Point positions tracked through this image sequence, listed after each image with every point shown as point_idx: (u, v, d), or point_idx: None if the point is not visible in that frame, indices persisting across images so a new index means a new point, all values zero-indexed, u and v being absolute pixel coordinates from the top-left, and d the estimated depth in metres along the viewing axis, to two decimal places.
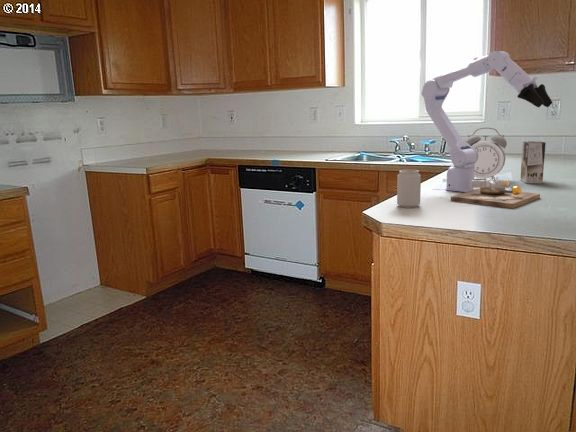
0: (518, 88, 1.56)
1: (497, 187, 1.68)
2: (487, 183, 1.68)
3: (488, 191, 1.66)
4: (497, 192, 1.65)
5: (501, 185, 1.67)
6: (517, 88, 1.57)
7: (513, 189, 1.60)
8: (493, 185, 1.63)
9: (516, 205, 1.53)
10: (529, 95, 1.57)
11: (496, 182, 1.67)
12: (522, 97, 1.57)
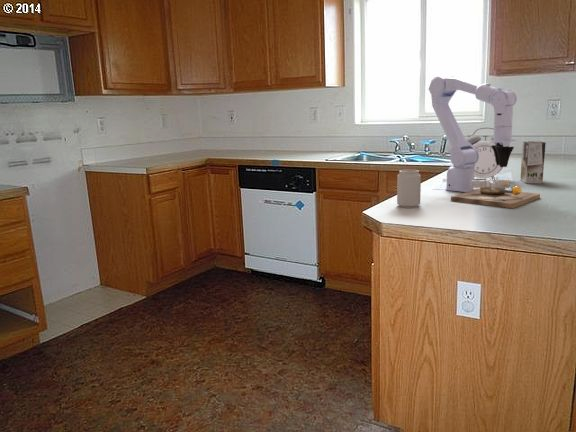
0: (505, 144, 1.62)
1: (497, 187, 1.68)
2: (487, 183, 1.68)
3: (488, 191, 1.66)
4: (497, 192, 1.65)
5: (501, 185, 1.67)
6: (505, 143, 1.62)
7: (513, 189, 1.60)
8: (493, 185, 1.63)
9: (516, 205, 1.53)
10: (503, 153, 1.66)
11: (496, 182, 1.67)
12: (499, 151, 1.65)
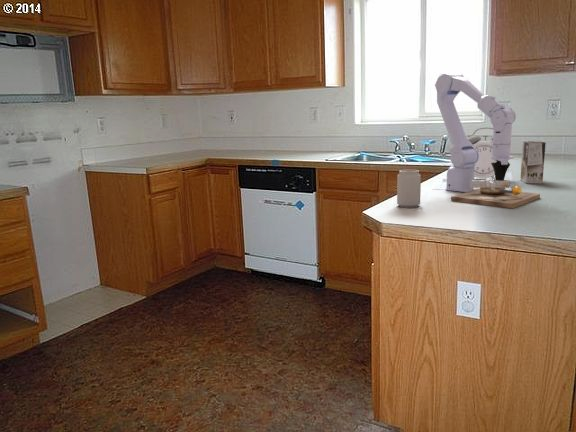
0: (504, 162, 1.64)
1: (497, 187, 1.68)
2: (487, 183, 1.68)
3: (488, 191, 1.66)
4: (497, 192, 1.65)
5: (501, 185, 1.67)
6: (503, 161, 1.64)
7: (513, 189, 1.60)
8: (493, 185, 1.63)
9: (516, 205, 1.53)
10: (499, 169, 1.71)
11: (496, 182, 1.67)
12: (496, 167, 1.70)
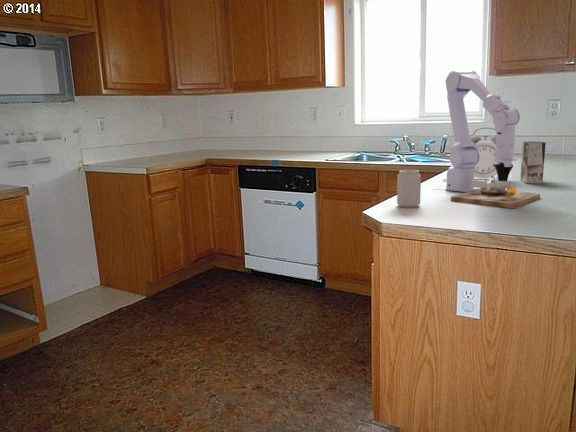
0: (507, 164, 1.59)
1: (497, 187, 1.67)
2: (486, 183, 1.68)
3: (486, 191, 1.67)
4: (495, 192, 1.65)
5: (501, 185, 1.66)
6: (506, 163, 1.59)
7: (507, 190, 1.59)
8: (488, 185, 1.63)
9: (516, 205, 1.53)
10: (502, 171, 1.67)
11: (496, 182, 1.67)
12: (498, 169, 1.65)
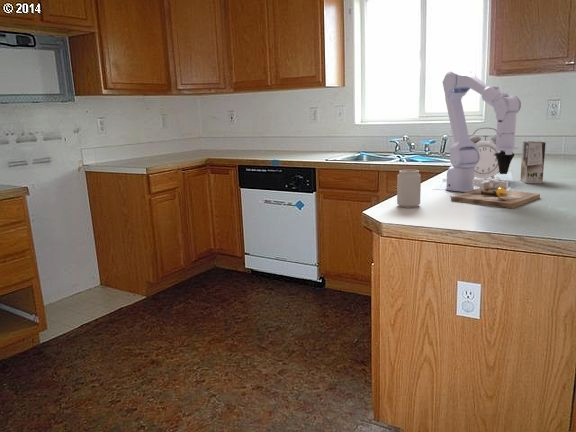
0: (508, 152, 1.57)
1: (495, 188, 1.67)
2: None
3: (483, 190, 1.68)
4: (490, 193, 1.65)
5: (499, 186, 1.66)
6: (507, 151, 1.57)
7: (496, 190, 1.59)
8: (481, 185, 1.64)
9: (516, 205, 1.53)
10: (503, 160, 1.64)
11: (494, 182, 1.66)
12: (499, 158, 1.63)
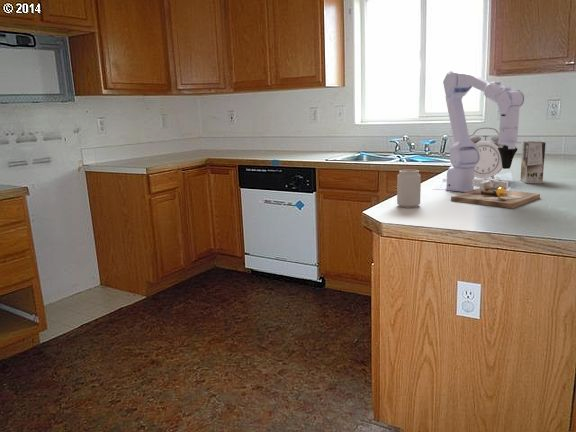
0: (511, 146, 1.56)
1: (495, 188, 1.67)
2: None
3: (483, 190, 1.68)
4: (490, 193, 1.65)
5: (499, 186, 1.66)
6: (510, 145, 1.56)
7: (496, 190, 1.59)
8: (481, 185, 1.64)
9: (516, 205, 1.53)
10: (506, 154, 1.63)
11: (494, 182, 1.66)
12: (502, 152, 1.62)
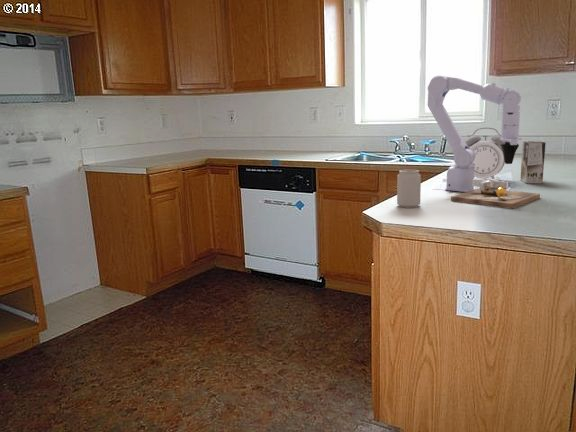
0: (513, 142, 1.67)
1: (495, 188, 1.67)
2: None
3: (483, 190, 1.68)
4: (490, 193, 1.65)
5: (499, 186, 1.66)
6: (512, 141, 1.67)
7: (496, 190, 1.59)
8: (481, 185, 1.64)
9: (516, 205, 1.53)
10: (508, 150, 1.74)
11: (494, 182, 1.66)
12: (505, 148, 1.73)
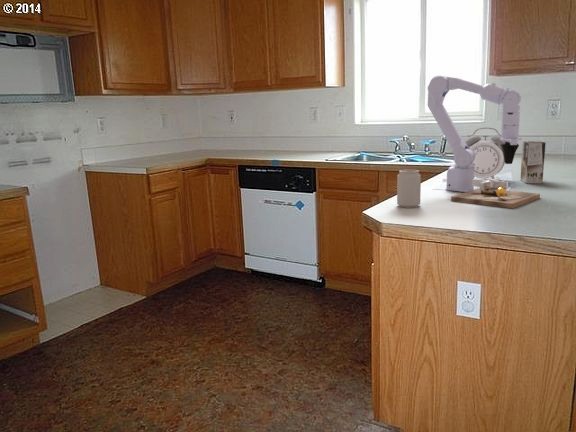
0: (513, 142, 1.67)
1: (495, 188, 1.67)
2: None
3: (483, 190, 1.68)
4: (490, 193, 1.65)
5: (499, 186, 1.66)
6: (512, 141, 1.67)
7: (496, 190, 1.59)
8: (481, 185, 1.64)
9: (516, 205, 1.53)
10: (508, 150, 1.74)
11: (494, 182, 1.66)
12: (505, 148, 1.73)
